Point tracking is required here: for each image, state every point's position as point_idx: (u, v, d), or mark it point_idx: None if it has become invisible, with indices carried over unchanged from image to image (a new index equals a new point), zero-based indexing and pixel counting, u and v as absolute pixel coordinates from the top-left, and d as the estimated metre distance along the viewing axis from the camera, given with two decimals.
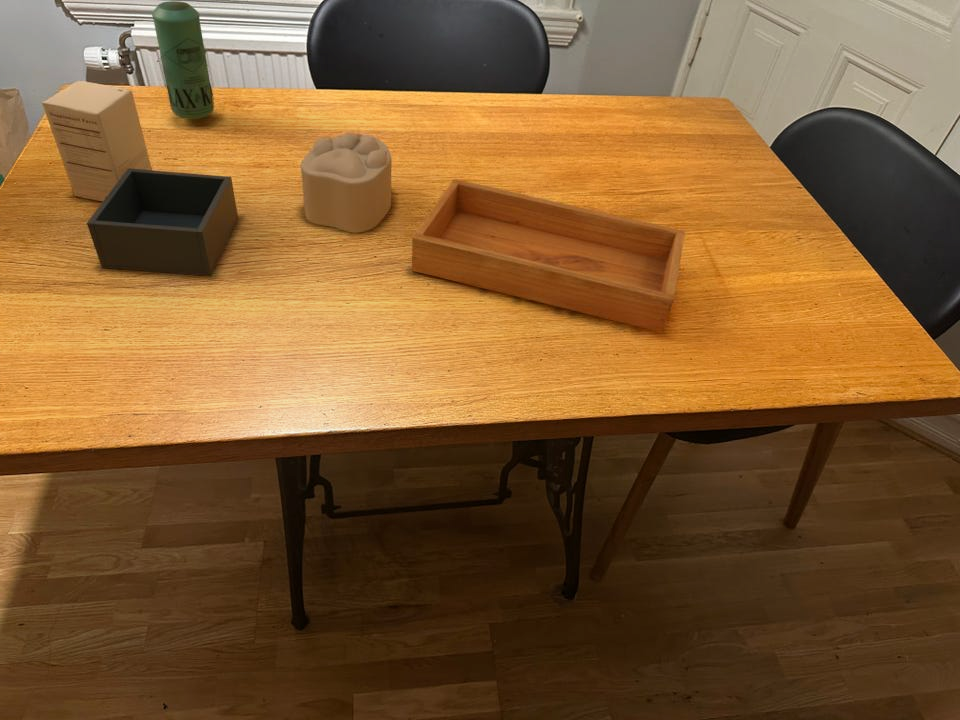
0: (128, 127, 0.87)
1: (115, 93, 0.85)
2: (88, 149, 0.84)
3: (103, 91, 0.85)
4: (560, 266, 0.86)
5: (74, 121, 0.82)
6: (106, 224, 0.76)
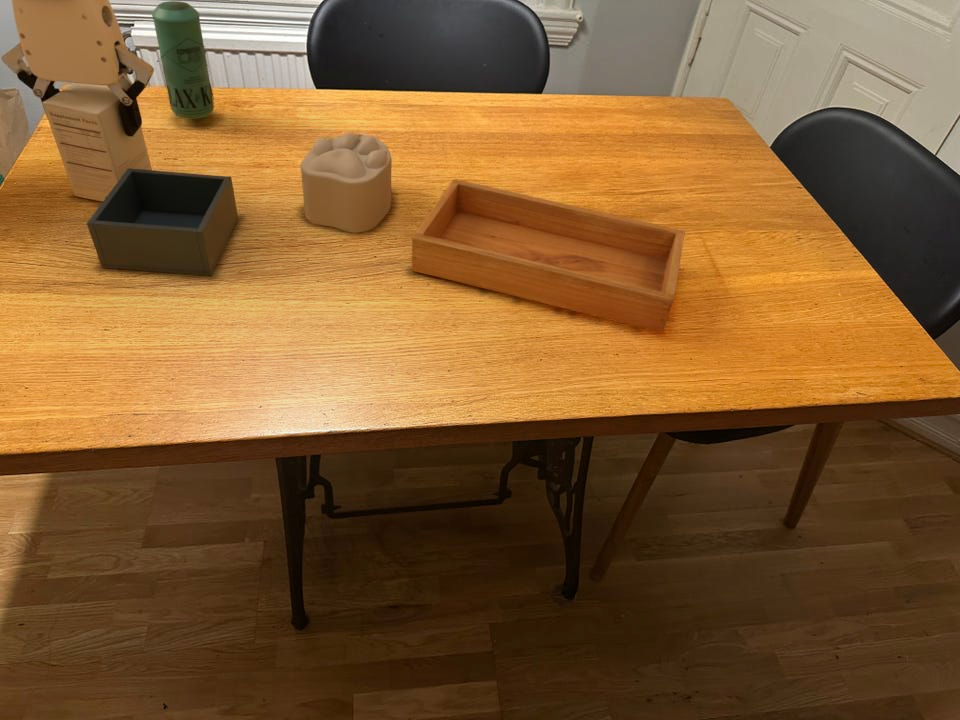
0: None
1: None
2: (88, 150, 0.84)
3: (104, 91, 0.85)
4: (560, 266, 0.86)
5: (75, 122, 0.82)
6: (106, 224, 0.76)
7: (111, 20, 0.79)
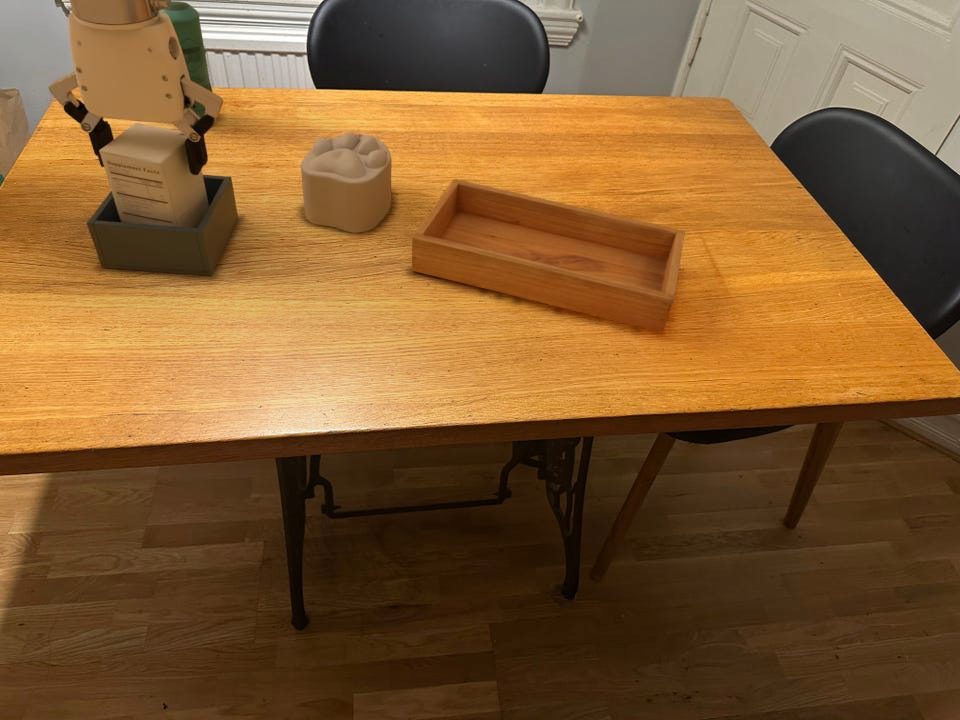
0: (190, 173, 0.79)
1: (177, 138, 0.77)
2: (148, 200, 0.77)
3: (164, 135, 0.77)
4: (560, 266, 0.86)
5: (135, 171, 0.74)
6: (106, 224, 0.76)
7: (177, 52, 0.70)
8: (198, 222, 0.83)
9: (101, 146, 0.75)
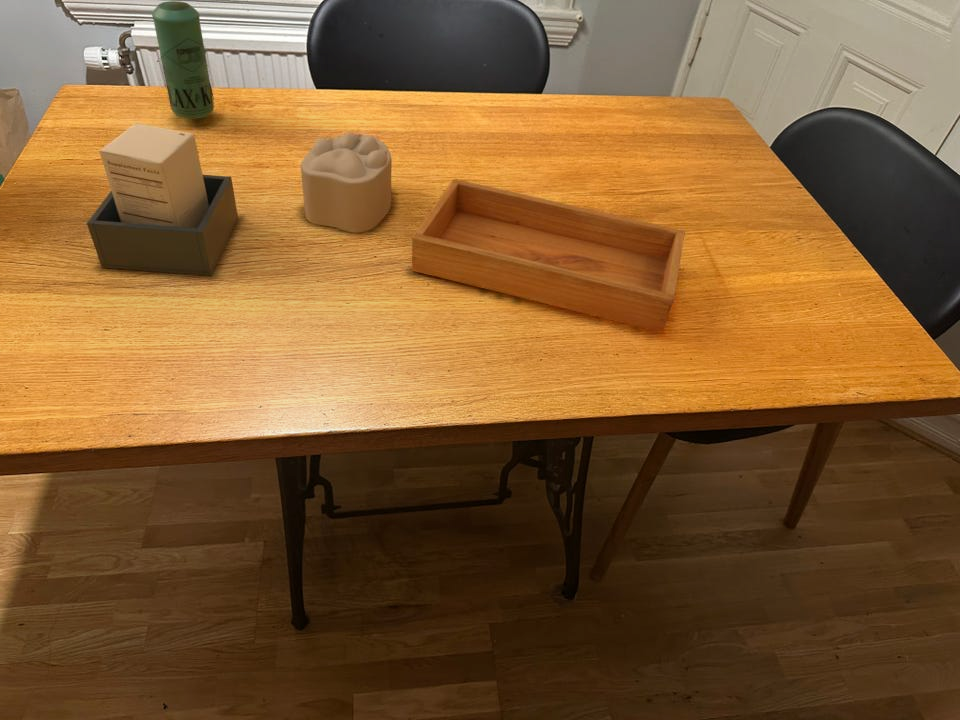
0: (190, 173, 0.79)
1: (177, 138, 0.77)
2: (148, 200, 0.77)
3: (164, 135, 0.77)
4: (560, 266, 0.86)
5: (135, 171, 0.74)
6: (106, 224, 0.76)
7: None
8: (198, 222, 0.83)
9: None
